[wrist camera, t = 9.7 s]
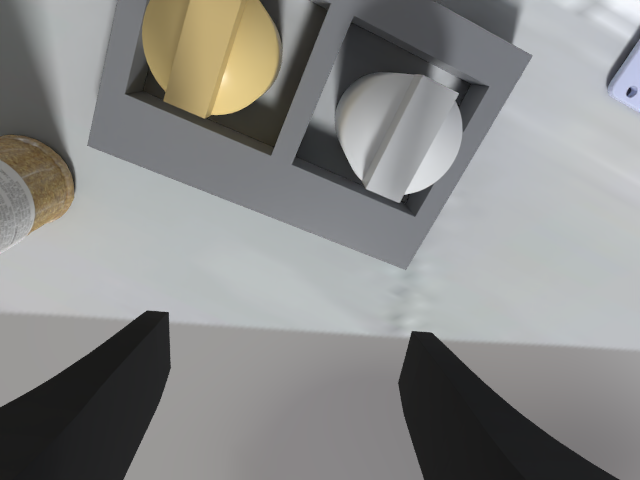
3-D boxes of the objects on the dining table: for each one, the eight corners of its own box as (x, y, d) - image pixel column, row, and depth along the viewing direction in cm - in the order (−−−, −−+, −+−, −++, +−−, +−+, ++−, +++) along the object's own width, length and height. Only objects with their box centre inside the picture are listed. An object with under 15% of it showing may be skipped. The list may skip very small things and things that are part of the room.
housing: (509, 56, 18) (532, 55, 17) (397, 252, 22) (405, 269, 20) (168, -130, 15) (150, -157, 13) (107, 137, 19) (87, 145, 17)
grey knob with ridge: (441, 96, 19) (498, 109, 13) (397, 178, 20) (432, 220, 15) (359, 55, 18) (384, 51, 13) (320, 144, 20) (327, 175, 14)
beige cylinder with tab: (297, 22, 17) (294, 4, 12) (262, 117, 19) (246, 139, 14) (200, -26, 17) (149, -70, 11) (172, 78, 18) (116, 84, 13)
